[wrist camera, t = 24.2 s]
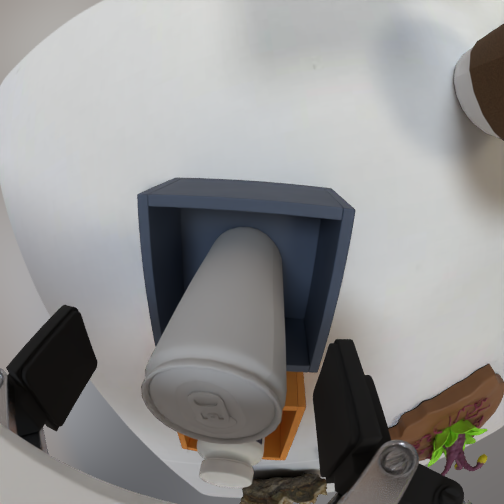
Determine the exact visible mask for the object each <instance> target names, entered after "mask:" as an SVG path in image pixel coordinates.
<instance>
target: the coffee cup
mask: <svg viewBox="0 0 504 504" xmlns="http://www.w3.org/2000/svg"><path fill="white" fill-rule="evenodd" d="M454 85H455V90H456V96H457V98H458V100H459V102H460V105H461V107H462V110H463V111H464V112H465V114H466V115H467V116H468V118H469V119H470V120H471V122H472V123H474V124H475V125H476V126H477V127H479V128H480V129H481V130H483V131H484V132H485V133H487V134H489V135H492V136H495V137H498V138H500V139H502V140H503V141H504V24H503V25H501V26H499V27H498V28H496V29H495V30H493V31H492V32H490V33H489V34H487V35H486V36H484V37H483V38H482V39H480V40H479V41H477V42H476V44H475V46H474V47H473V48H472V49H470V50H469V51H467V52H466V53H464V54H463V55H462V57H461V58H460V60H459V61H458V63H457V65H456V67H455V73H454Z"/></svg>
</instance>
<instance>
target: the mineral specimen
mask: <svg viewBox="0 0 504 504" xmlns="http://www.w3.org/2000/svg"><path fill="white" fill-rule="evenodd" d="M326 486H327V483H326V480H325V479H321V478H320V477H319V476H318V475H316V474H311V473H310V474H307V473H304V474H303V476H296V477H295V478H292V477H285V478H281V477H276V478H274V477H273V478H272V477H271V478H270V479H267V480H261V479H252V484H251V485H250V486H248V487H244V488H243V489H242V490H243V497H242V498H241V502H240V504H292V503H293V502H297V503H299V504H310V503H311V502H312V503H313V504H314V503H315V502H316V498H317V497H318V495H319V494H323V495H327V492H326V490H325V489H327V488H326Z"/></svg>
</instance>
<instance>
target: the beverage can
mask: <svg viewBox="0 0 504 504" xmlns="http://www.w3.org/2000/svg"><path fill="white" fill-rule="evenodd" d="M141 389H142V398H143V400H144V402H145V404H146V406H147V408H148V409H149V410H150V411H151V413H152V414H153V415H154V416H155V417H156V418H157V419H158V420H160V421H161V422H162V423H163V424H165V425H166V426H168V427H169V428H171V429H173V430H175V431H177V432H178V433H181V434H183V435H186V436H188V437H191V438H193V439H197V440H201V441H205V442H209V443H218V444H242V443H248V442H253V441H256V440H259V439H261V438H264V437H266V436H268V435H269V434H271V433H272V432H273V431H275V430H276V428H277V427H278V425H279V424H280V422H281V419H282V409H283V408H284V406H285V401H286V392H287V381H286V343H285V318H284V295H283V274H282V258H281V255H280V252H279V249H278V248H277V246H276V245H275V243H274V242H273V241H272V240H271V239H270V238H269V237H268V236H267V235H266V234H265V233H263V232H262V231H260V230H258V229H254V228H251V227H237V228H233V229H229V230H228V231H226V232H224V233H223V234H221V235H220V236H219V237H218V238H217V240H216V241H215V242H214V244H213V246H212V247H211V249H210V251H209V252H208V254H207V256H206V257H205V259H204V261H203V262H202V264H201V266H200V267H199V269H198V271H197V272H196V274H195V276H194V277H193V279H192V281H191V283H190V284H189V286H188V288H187V290H186V292H185V293H184V295H183V297H182V299H181V301H180V302H179V304H178V306H177V308H176V310H175V312H174V314H173V315H172V317H171V319H170V321H169V323H168V325H167V327H166V329H165V330H164V332H163V334H162V336H161V338H160V340H159V342H158V344H157V346H156V348H155V350H154V352H153V353H152V355H151V358H150V360H149V362H148V364H147V366H146V369H145V379H144V382H143V384H142V386H141Z"/></svg>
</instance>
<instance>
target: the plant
mask: <svg viewBox="0 0 504 504" xmlns="http://www.w3.org/2000/svg"><path fill="white" fill-rule="evenodd" d="M503 395H504V381H503V379H502V378H501V376H500V375H499V374H495V372H494V371H493V369H492V367H491V366H490V364H488V365H486V366H485V367H483V368H481V369H479V370H477V371H476V372H474V373H473V374H472V375H470V376H469V377H468V378H466V379H465V380H463V381H461V382H459V383H457V384H455V385H453V386H452V387H450V388H448V389H447V390H445V391H444V392H442V393H441V394H439V395H438V396H436V397H435V398H433V399H430V400H427V401H424V402H422V403H421V404H420V405H419V406H418V407H417V408H415V409H414V410H412V411H409V412H407V413H405V414H403V415H402V416H401V418H400V421H399V423H398V424H397V425H396V426H394V427H392V428H389V429H388V430H389V433H390V437H391V441H392V440H402V441H406V442H408V443H410V444H411V445H412V446H413V447H414V448H415V449H416V451H417V453H418V456H419V461H421V460H425V459H430V462H429V464H428V467H429V466H431V465H432V464H434V463H435V462H436V461H437V460H438V459H439V457H440V456H441V454H442V453H444V454H445V457H446V458H447V459H446V460H447V462H446V466H445V469H444V471H443V472H442V473H441V475H443V476H445V474H446V473H447V472H448V471H449V469H450V467H451V465H452V463H453V461H454V460H455V461H456V464H455V469H456V470H461V469H462V468H463V467H464V468H465V469H467V470H469V471H475V470H477V469H479V468H481V466H482V465H483V464H484V463H485V462H486V460H487V456H486V455H485V454H483V455H481V456H480V457H479V458H478V460H477V465H476V466H475V467H472V466H470V465H469V464H468V463H467V461H466V459H465V456H464V449H465V444H473V443H475V442H476V441H475V439H474V438H473V437H474V435H480V434H482V433H484V432H486V431H487V429H480V428H481V427H482V426H483V425H484V423H485V422H486V421H487V420H488V419H489V418H490V417H491V416H492V415H493V414H494V412H495V411H496V409H497V408H498V406H499V404H500V402H501V400H502V398H503Z"/></svg>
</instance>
